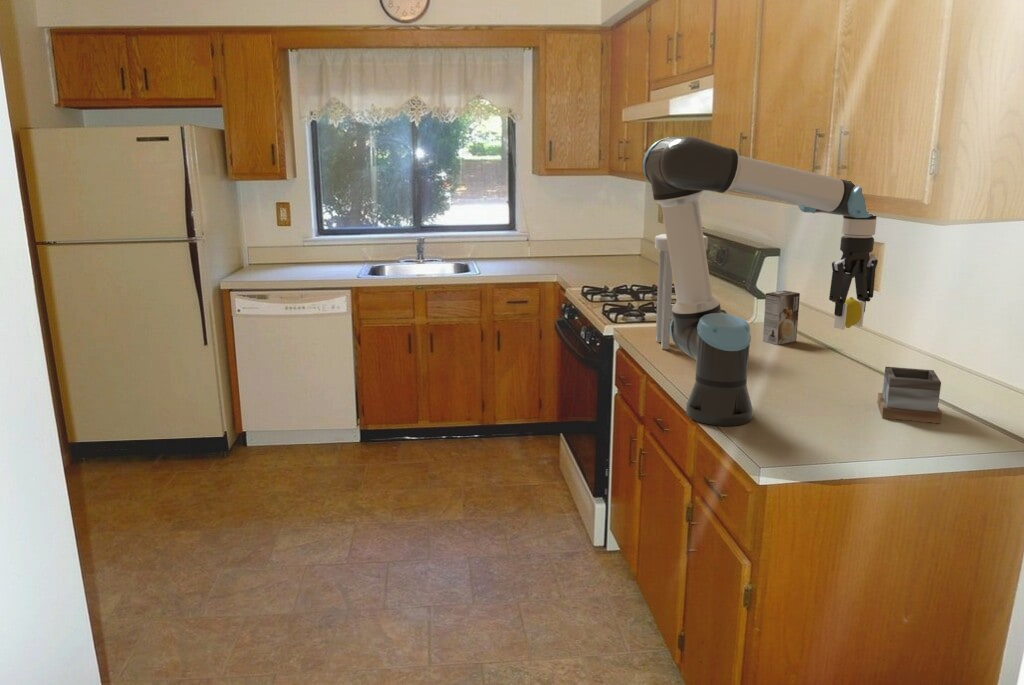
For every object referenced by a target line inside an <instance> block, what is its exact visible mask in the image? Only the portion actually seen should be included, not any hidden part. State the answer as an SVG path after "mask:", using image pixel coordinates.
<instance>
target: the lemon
mask: <svg viewBox="0 0 1024 685" xmlns="http://www.w3.org/2000/svg"><path fill="white" fill-rule="evenodd" d="M857 300H858V299H856V298H853V297H848V298H846V301H845V304H847V313H846V323H845V329H849V328H852V326H854V325H855V324H857V323H858V322H859V320H860V318H861V314H862V310H861V305H860V303H859V302H858V301H857Z"/></svg>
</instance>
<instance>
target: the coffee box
mask: <svg viewBox="0 0 1024 685" xmlns="http://www.w3.org/2000/svg"><path fill="white" fill-rule="evenodd" d="M800 296H801V293H800V292H795V291H794V292H793V291H789V290H780V291H773V292H767V293H765V300H764V301H765V302H764V315H763V316H764V318H763V331H762V334H763V335H762V342H765V343H768V344H774V345H777V346H779V345H783V344H788V343H794V342H797V339H798V338H797V337H798V335H797V334H798V326H799V321H798V320H799V311H800V310H799V309H800V308H799V307H800Z"/></svg>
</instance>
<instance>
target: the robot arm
mask: <svg viewBox="0 0 1024 685" xmlns="http://www.w3.org/2000/svg"><path fill="white" fill-rule="evenodd" d="M642 170H643V174H644V176H645V178H646V180H647V181H648V182H649V184H651V191H652V197H653V201H654V202H655V203H657V204H658V205H660V207H661V209H662V210H661V211H662V217H663V224H664V230H665V234H666V237H667V243H668V249H669V256H670V262H671V268H672V282H673V286H674V292H675V297H676V302H675V303H674V304H675V305H674V306H673V307H672V308H671V310H672V314H673V318H671V320H672V321H671V324H670V338H671V340H672V342H673V343H674V345H675V346H676V347H677V348H678V350H679V351H681V352H682V353H685V355H688V357H690V358H692V359H693V360H695V362H696V363H695V381H694V384H693V386H692V390H691V391H690V394H689V397H688V399H687V402H686V410H685V413H686V416H687V417H688V418H689V419H691V420H694V421H695V422H697V423H702V424H705V425H711V426H720V427H721V426H722V427H724V426H725V427H734V426H740V425H745V424H748V423H750V422H751V421H752V420H753V413H754V412H753V411H754V410H753V405H752V402H751V397H750V394H749V390H748V384H747V382H748V370H749V360H750V358H749V356H750V344H751V340H752V338H751V326H750V324H749V323H748V321H747V320H745V319H744V318H742V317H740V316H738V315H732V314H730V313H725V312H724V313H723V312H722V310H721V309H722V308H721V302H720V300H719V299H717V298H716V297H715V296H713V293H712V292H713V291H712V286H711V279H710V277H711V276H710V272H709V265H708V264H709V263H708V258H707V252H706V251H707V250H705V243H704V236H705V235H704V231H703V224H702V217H701V210H700V205H699V204H700V202H699V198H700V197H701V196H702V194H703V192H704V191H707V192H709V191H710V192H716V193H719V194H725V193H727V192H728V191H733V192H737V193H743V194H747V195H751V196H756V197H760V198H764V199H769V200H774V201H779V202H783V203H788V204H793V205H797V207H798V208H799V210H800V211H801V212H803V213H812V214H816V213H817V214H818V213H820V214H821V213H823V214H828V215H839V216H842V217H843V221H842V230H841V234H842V236H841V237H840V246H839V250H840V251H841V252H842V254H841V258H840V260H838V261H832V263H831V269H832V274H831V280H830V281H831V282H830V290H829V296H828V299H829V301H832V303H834V304H835V305H834V324H833V327H834V328H835V329H840V330H845V329H846V326H845V323H846V313H847V304H845V301H846V299H848V294H849V290H850V288H851V284H852V281H853V278H854V283H855V284H854V285H855V293H856V294H855V295H856V300H857V301H858V302H859V303H860V305H861V310H862V314H861V318H860V320H859V322H858V323H857V324H855V325H853V326H855V327H860V328H862V327H863V323H864V315H865V312H866V305H867V302H870V301H871V299H872V298H873V297H874V292H875V290H874V289H875V282H876V281H875V277H876V268H877V265H878V259H876V258H871V256H870V253H873V251H874V245H875V238H874V237H873V236H875V235H876V228H877V227H876V226H877V216H873V215H872V214H868V213H869V212H867V211H866V205H865V198H864V196H863V194H862V188H861V187H859V186H857V185H856V186H855V185H854V184H853V183H852V182H851V181H847V180H846V179H841V178H839V177H838V178H837V177H832V176H829V175H827V174H821V173H817V172H811V171H808V170H804V169H798V168H794V167H791V166H786V165H781V164H778V163H773V162H768V161H765V160H760V159H757V158H752V157H747V156H744V155H740V154H739V151H738V149H735V148H730V147H727V146H722V145H720V144H716V143H714V142H711V141H707V140H705V139H702V138H698V137H695V136H668V137H665V138H662V139H659V140H658V141H656V142H654V143H652V145H651V146H650V147H649V148H648V149H647V151H646V152H645V155H644V157H643V161H642ZM703 235H704V236H703Z"/></svg>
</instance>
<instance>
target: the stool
mask: <svg viewBox="0 0 1024 685" xmlns="http://www.w3.org/2000/svg"><path fill="white" fill-rule="evenodd" d="M703 236H704V243H705V250H706V251H707V250H708V246H709V245H708V244H709V243H708V242H709V239H708V236H706V235H704V234H703ZM654 249H656V250H657V251H658V272H657V295H656V296H657V297H656V300H657V301H656V320H655V321H656V324H655V329H656V330H655V342H656V341H657V342H661V343H660V348H662V349H669V350H670V341H671V340H670V338H671V334H670V324H671V321H672V319H673V314H672V307H673V306H674V305H675V303H674V304H673V303H672V295H673V294H672V293H673V292H672V291H673V274H672V268H671V262H670V256H669V249H668V243H667V237H666V233H661V234H658V235H656V236H655V238H654ZM657 342H656V343H657ZM662 349H661V350H662Z"/></svg>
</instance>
